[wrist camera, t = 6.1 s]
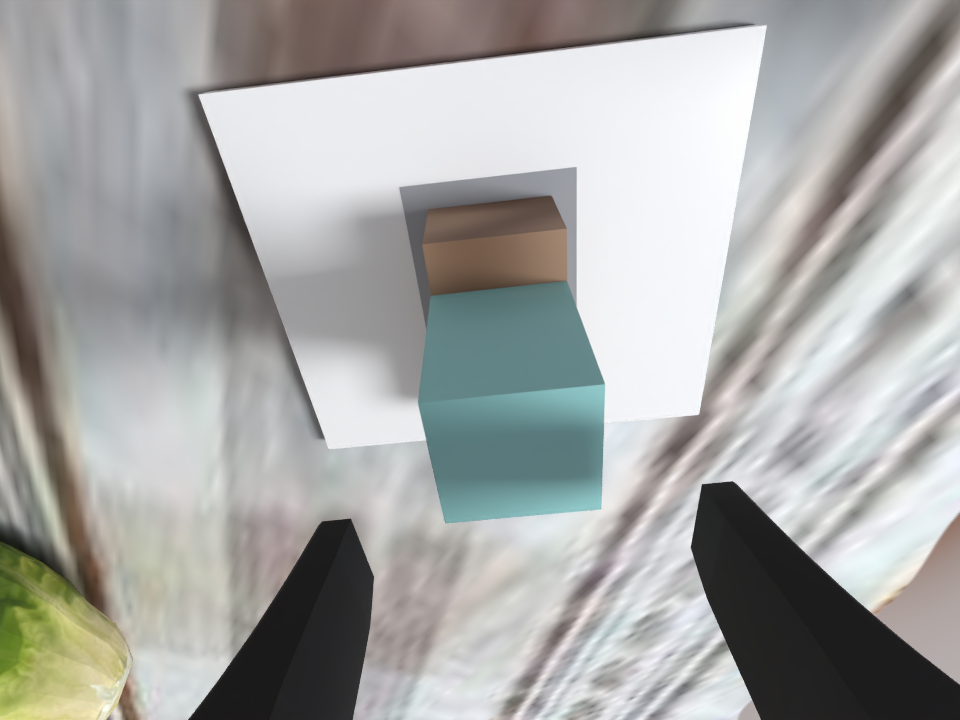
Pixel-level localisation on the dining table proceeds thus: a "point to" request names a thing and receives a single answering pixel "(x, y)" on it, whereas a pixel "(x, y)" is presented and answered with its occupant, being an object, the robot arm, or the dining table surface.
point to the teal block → (512, 404)
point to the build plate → (492, 178)
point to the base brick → (495, 245)
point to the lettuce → (55, 647)
